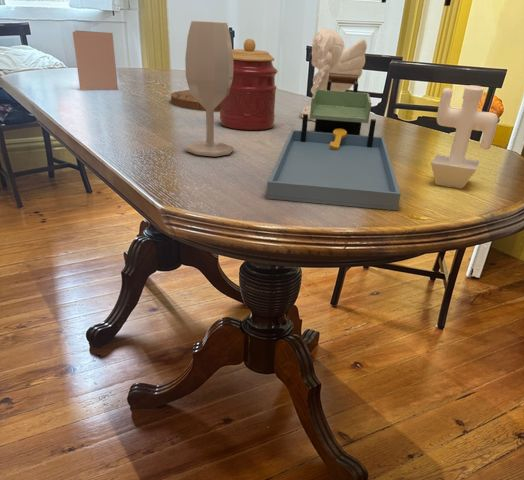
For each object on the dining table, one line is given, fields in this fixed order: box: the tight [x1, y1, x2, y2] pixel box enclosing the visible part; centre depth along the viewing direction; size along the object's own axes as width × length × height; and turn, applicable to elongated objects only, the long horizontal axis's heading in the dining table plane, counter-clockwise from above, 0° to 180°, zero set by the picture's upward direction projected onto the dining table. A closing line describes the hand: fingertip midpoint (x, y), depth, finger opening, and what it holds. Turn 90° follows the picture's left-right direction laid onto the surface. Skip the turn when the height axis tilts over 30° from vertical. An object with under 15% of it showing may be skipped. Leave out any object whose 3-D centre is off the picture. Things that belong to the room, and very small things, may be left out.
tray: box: [266, 129, 402, 211], centre depth 91 cm, size 40×19×2 cm, turn 172°
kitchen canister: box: [219, 38, 278, 131], centre depth 117 cm, size 13×13×18 cm
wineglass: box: [184, 20, 234, 158], centre depth 92 cm, size 9×9×21 cm
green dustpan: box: [310, 73, 372, 124], centre depth 113 cm, size 24×12×6 cm, turn 172°
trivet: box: [170, 89, 221, 112], centre depth 145 cm, size 25×25×2 cm
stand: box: [301, 114, 377, 148], centre depth 111 cm, size 14×15×6 cm
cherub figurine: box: [300, 27, 368, 122], centre depth 130 cm, size 13×12×20 cm
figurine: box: [430, 84, 499, 190], centre depth 84 cm, size 7×9×15 cm
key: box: [329, 128, 347, 150], centre depth 104 cm, size 7×3×1 cm, turn 166°
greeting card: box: [72, 29, 119, 91], centre depth 153 cm, size 11×7×15 cm, turn 84°
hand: (415, 4), depth 111 cm, fingers open, 13 cm apart
